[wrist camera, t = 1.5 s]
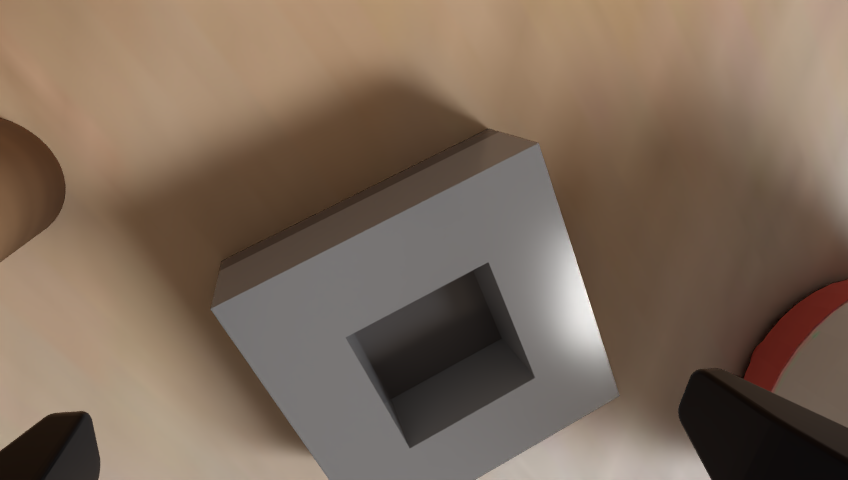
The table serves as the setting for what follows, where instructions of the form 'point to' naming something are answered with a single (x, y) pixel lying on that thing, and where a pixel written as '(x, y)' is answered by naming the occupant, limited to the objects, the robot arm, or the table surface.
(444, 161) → the socket block
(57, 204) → the pin
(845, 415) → the citrus juicer
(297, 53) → the table surface
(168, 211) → the table surface
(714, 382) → the robot arm
